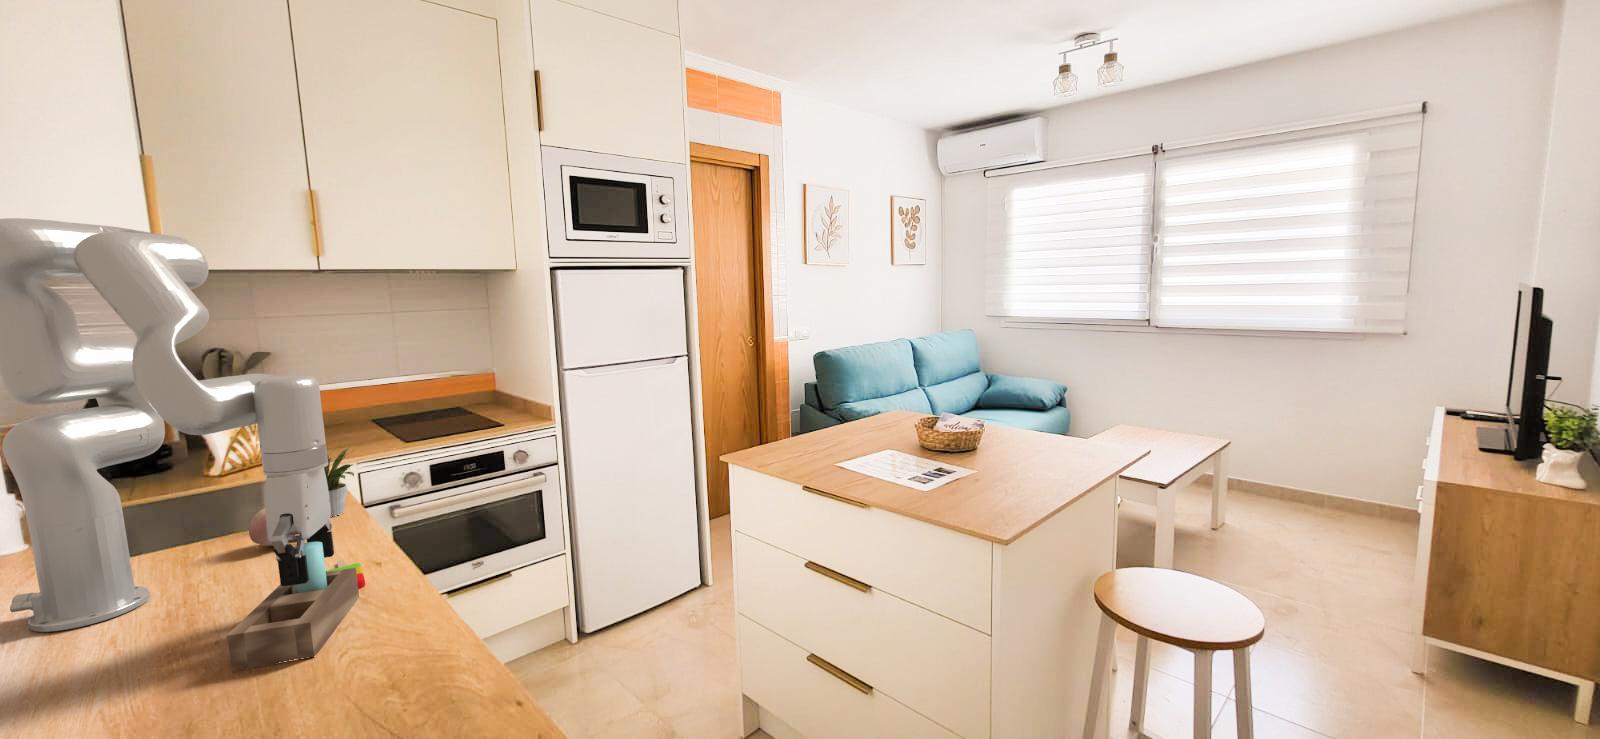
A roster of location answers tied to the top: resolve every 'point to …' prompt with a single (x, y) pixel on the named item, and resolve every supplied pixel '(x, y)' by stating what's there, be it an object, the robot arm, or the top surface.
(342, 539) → the top surface
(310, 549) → the dowel
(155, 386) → the robot arm
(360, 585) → the popsicle
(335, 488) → the house plant
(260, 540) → the apple
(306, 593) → the socket block
